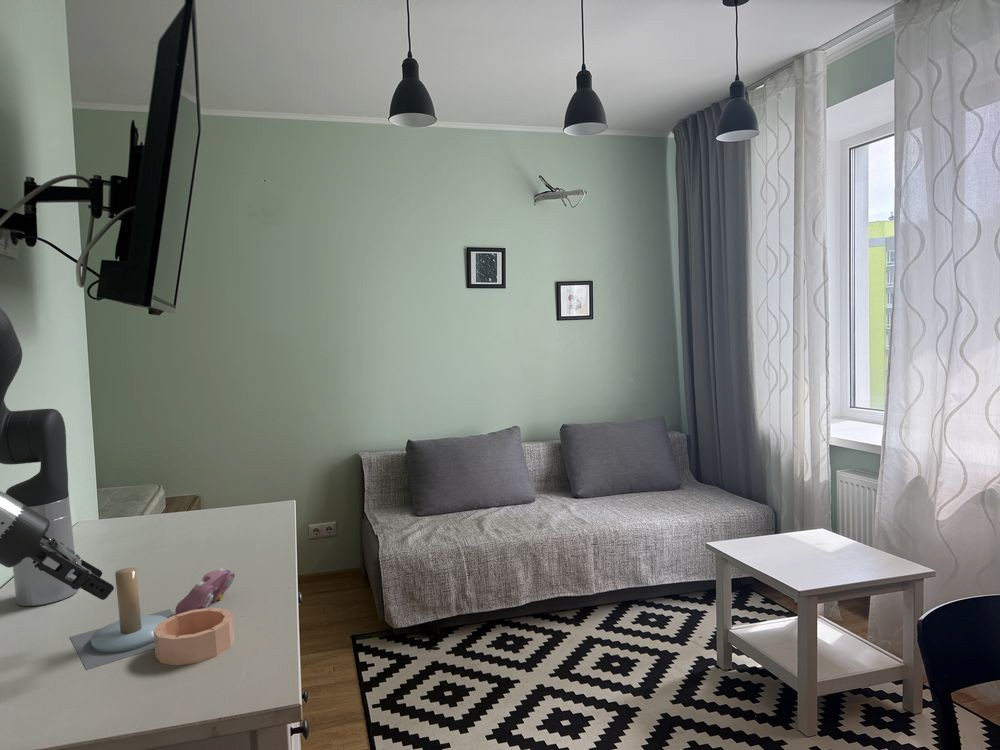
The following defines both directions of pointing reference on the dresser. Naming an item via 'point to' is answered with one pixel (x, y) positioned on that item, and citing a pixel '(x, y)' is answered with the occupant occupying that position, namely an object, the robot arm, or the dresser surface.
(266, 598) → the dresser surface
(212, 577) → the video game controller
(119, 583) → the lid
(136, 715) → the dresser surface
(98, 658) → the mat
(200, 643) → the bowl
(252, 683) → the dresser surface
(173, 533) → the dresser surface
